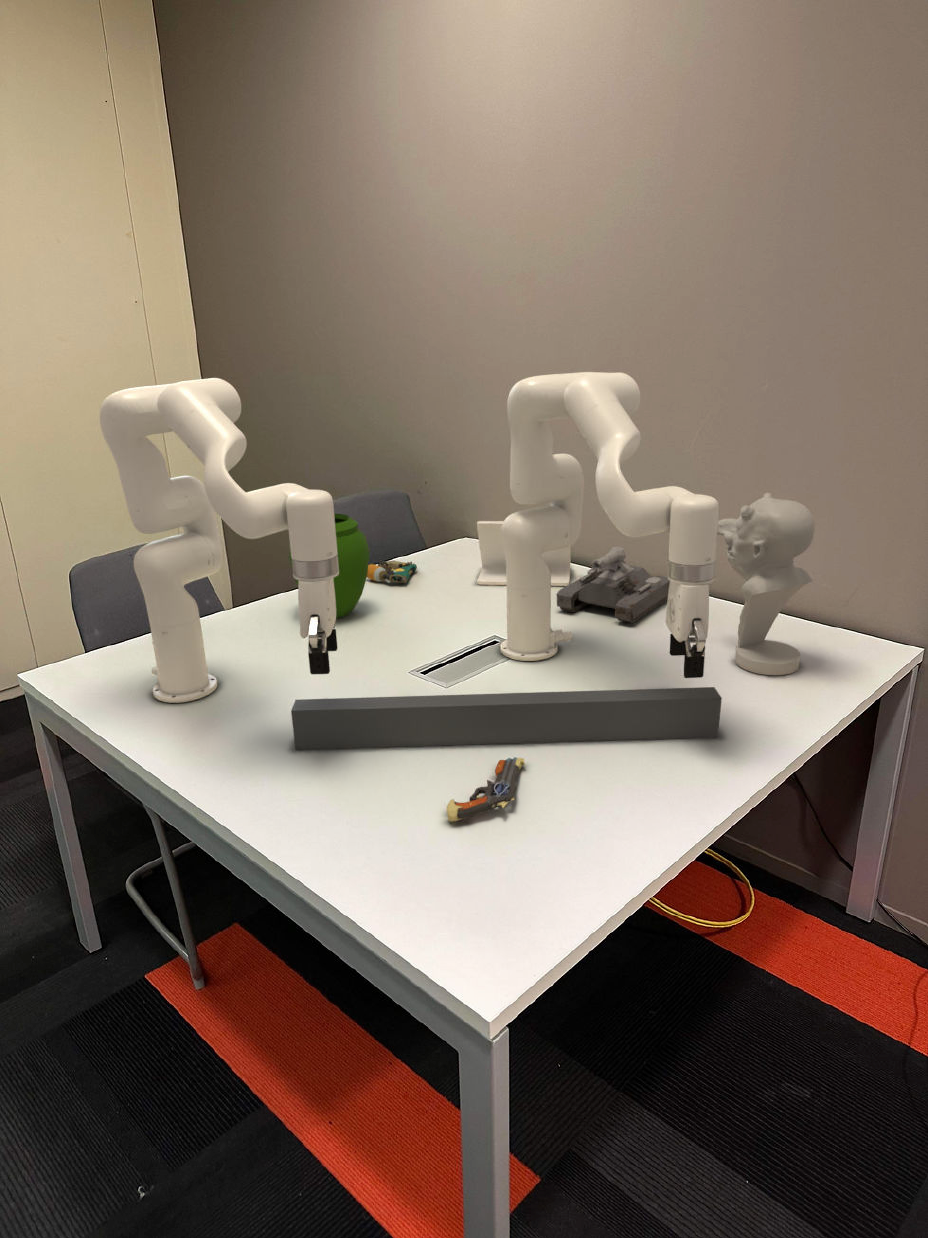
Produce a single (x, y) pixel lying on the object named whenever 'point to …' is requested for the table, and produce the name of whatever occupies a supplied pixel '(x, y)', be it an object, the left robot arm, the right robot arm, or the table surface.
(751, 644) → the bust sculpture
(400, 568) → the spray gun
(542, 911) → the table surface
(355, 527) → the vase
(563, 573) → the tablet stand
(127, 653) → the table surface
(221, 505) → the left robot arm
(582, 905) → the table surface
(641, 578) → the toy
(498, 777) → the toy gun
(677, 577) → the right robot arm
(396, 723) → the post
